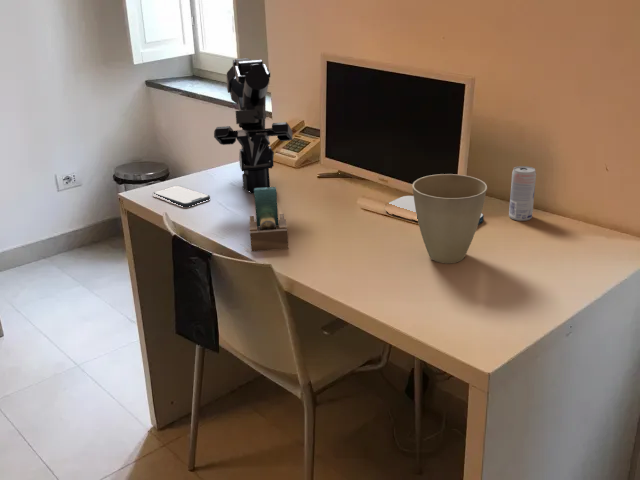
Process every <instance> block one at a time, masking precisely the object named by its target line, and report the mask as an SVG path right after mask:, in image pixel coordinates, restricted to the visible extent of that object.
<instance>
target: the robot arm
mask: <svg viewBox="0 0 640 480" xmlns="http://www.w3.org/2000/svg"><path fill="white" fill-rule="evenodd" d="M270 78H271V71H270V70H269V67H267V66H266V63H264V62H263V60H262V59H259V58H258V59H251V58H249V57H246V58H245V57H244V58H243V57H241V58H235V59H232V66H231V67H230V68H229V70H227V72H226V89H227V93H229V94H230V99H231V101H232V102H233V103H235V104H236V105H237V106H238V110H235V124H236V125H238V127H239V128H240V129H237V130H234V129H233V128H232V127H231V126H229V125H227V126H226V125H225V126H217V127H216V128H215V129H214V132H213V137H214V139H215V140H216V141H217V142H218V143H219V144H220V145H223V146H226V145H227V146H228V145H229V146H230V145H234V144H235V143H236V142H237V141H238V143H239V145H241V148H240V149H239V153H238V154H239V157H238V160H239V162H238V163H239V167H240V170H241V172H243V173H242V177H241V178H242V184H243V185H242V189H243V188H244V189H243V190H245V189H246V190H245V191H246V192H248V191H250V192H251V193H254V188H266V187H270V186H271V183H270V169H273V167H274V164H275V163H274V157H275V156H274V154H275V151H273V150H272V146H270V145H271V142H270V137H276V136H277V137H276V138H277V139H278V140H279V141H280V142H289V141H292V140H293V129H292V128H291V126H290V124H289V123H288V122H287V121H284V122H273V123H272V124H271V127H270V128H267V127H266V119H267V113H266V105H267V104H266V101H267V99H266V98H267V96H266V95H267V93H268V89H269V83H270ZM250 192H249V193H250ZM251 193H250V194H251Z"/></svg>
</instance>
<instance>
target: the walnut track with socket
mask: <svg viewBox="0 0 640 480" xmlns="http://www.w3.org/2000/svg"><path fill="white" fill-rule="evenodd" d="M286 220H287V219H286V218H285V214H284V213H279V219H278V224H279V225H278V228H276V230H263V231H260V230H258V227H257V221H256V220H255V216H254V215H250V216H249V239H250V249H251V250H250V251H251V252H263V251H265V252H266V251H275V250H288V249H289V237H288V235H289V233H288V227H287V221H286Z"/></svg>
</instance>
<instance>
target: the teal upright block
mask: <svg viewBox="0 0 640 480" xmlns="http://www.w3.org/2000/svg"><path fill="white" fill-rule="evenodd" d="M277 194H278V193H277V187H276V186H271V187H266V188H254V194H253V197H254V206H255V207H254V208H255V221H257V228H259V231H263V230H276V229H277V226H279V210H278V196H277Z"/></svg>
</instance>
